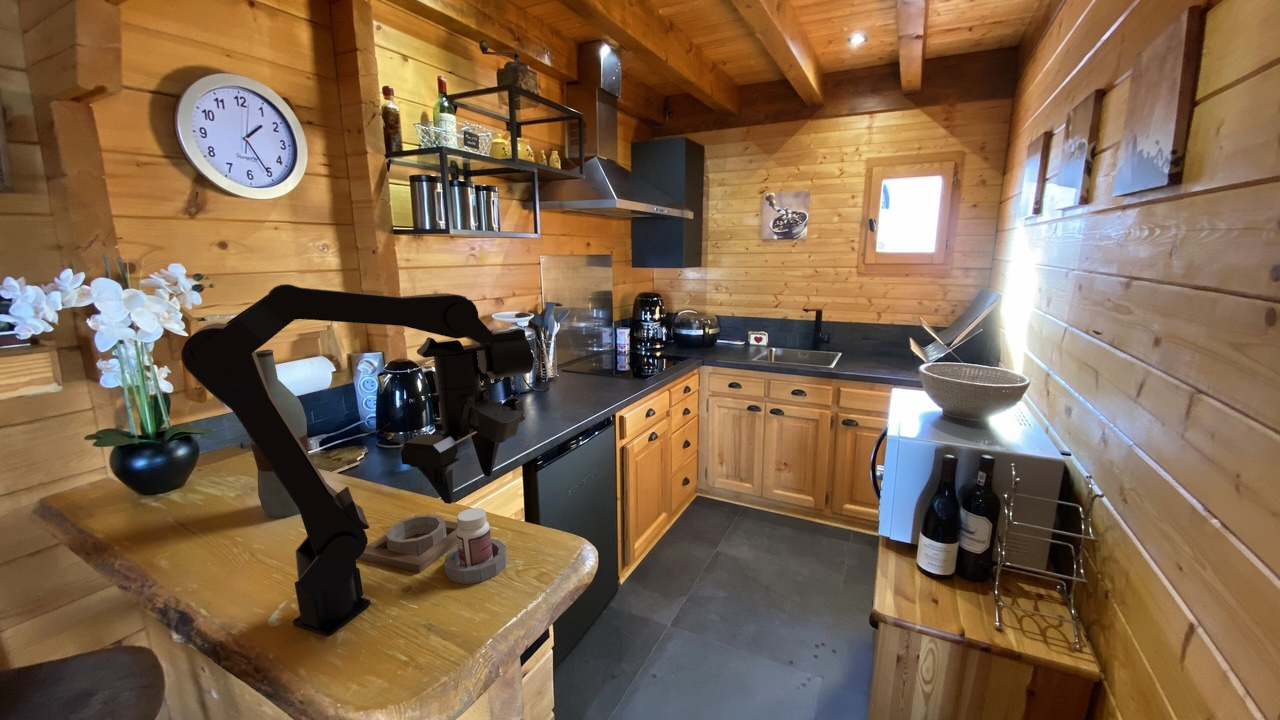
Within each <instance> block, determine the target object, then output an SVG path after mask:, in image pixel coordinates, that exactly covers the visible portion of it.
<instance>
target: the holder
mask: <svg viewBox="0 0 1280 720" xmlns="http://www.w3.org/2000/svg"><path fill="white" fill-rule="evenodd" d="M491 544H492V553H493V559H492V560H491V561H489V562H486V563H484V564H481V565H478V566H470V567H464V566H460V562H459V553H458V545H455V546H454V547H453V548H451V549H450V550H449V551H447V552H446V555H445V559H444V561H443V564H444V572H445V575H446V576H447V578H448V579H449V580H450V581H451V582H454V583H458V584H462V585H467V584H468V585H469V584H475V583H483V582H484V581H487V580H490V579H492V578H495V577H496V576H497V575H499V574H500V573H501V571H503V570H504V569H505V568H506V567H507V560H508V557H507V547H506V545H505V544H504V543H503V542H502V541H501V540H499V539H494V538H491ZM458 564H459V565H458Z"/></svg>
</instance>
